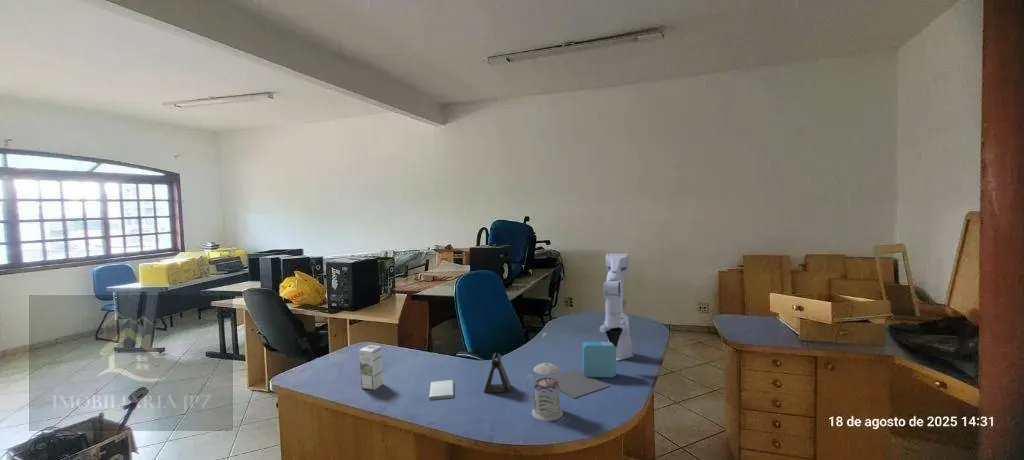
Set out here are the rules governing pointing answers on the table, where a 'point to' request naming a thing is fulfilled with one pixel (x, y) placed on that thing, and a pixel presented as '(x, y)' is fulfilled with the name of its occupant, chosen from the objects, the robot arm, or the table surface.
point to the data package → (599, 359)
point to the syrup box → (371, 367)
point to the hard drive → (441, 390)
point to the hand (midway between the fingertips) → (613, 346)
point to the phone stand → (505, 381)
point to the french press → (544, 405)
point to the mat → (578, 383)
